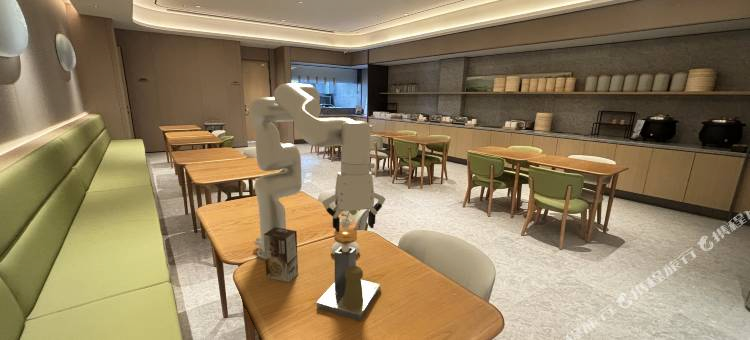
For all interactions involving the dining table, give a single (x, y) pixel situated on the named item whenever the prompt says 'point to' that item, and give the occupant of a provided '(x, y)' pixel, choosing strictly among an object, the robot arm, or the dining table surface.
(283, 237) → the coffee box
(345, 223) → the flower in vase
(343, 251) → the handle
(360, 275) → the cork
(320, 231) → the dining table surface
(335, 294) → the press stand
